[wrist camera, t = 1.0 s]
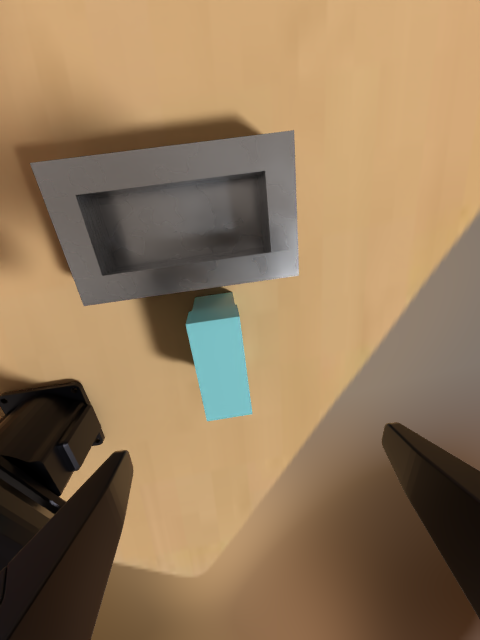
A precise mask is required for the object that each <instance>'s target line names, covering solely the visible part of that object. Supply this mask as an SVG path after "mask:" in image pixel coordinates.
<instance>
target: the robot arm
mask: <svg viewBox="0 0 480 640" xmlns="http://www.w3.org/2000/svg"><path fill="white" fill-rule="evenodd" d="M74 388H76V389H77V390H75V389H74ZM0 407H1V408H2V410H3V412H4V413H5V415H4V416H3V417H2V418H1V419H0V640H91V636H92V633H93V629H94V626H95V622H96V619H97V616H98V612H99V609H100V605H101V602H102V598H103V595H104V591H105V588H106V585H107V581H108V578H109V574H110V571H111V567H112V564H113V560H114V557H115V553H116V550H117V546H118V543H119V539H120V536H121V532H122V528H123V524H124V520H125V515H126V509H127V504H128V499H129V493H130V488H131V483H132V477H133V465H132V462H131V458H130V455H129V452H128V451H127V450H123V451H116V452H114V453H113V454H112V455H111V456H110V457H109V458H108V459H107V460H106V461H105V462H104V463H103V464H102V465H101V466H100V467H99V468H98V469H97V470H96V471H95V473H94V474H93V475H92V476H91V477H90V478H89V479H88V480H87V481H86V482H85V483H84V484H83V485H82V486H81V487H80V488H79V489H78V490H77V491H76V493H75V494H74V495H73V496H72V497H71V498H70V499H69V500H68V501H67V502H66V501H64V500H63V499H62V498H60V497H59V496H60V495H61V494H62V492H63V490H64V488H65V487H66V485H67V483H68V481H69V479H70V477H71V476H72V474H73V472H74V471H77V470H79V468H80V467H81V465H82V464H83V462H84V460H85V458H86V456H87V454H88V452H89V450H90V448H91V446H95V445H100V444H102V443H103V441H104V439H105V437H104V434H103V432H102V430H101V425H100V423H99V421H98V418H97V416H96V414H95V412H94V409H93V407H92V406H91V404H90V402H89V400H88V397H87V395H86V393H85V391H84V388H83V386H82V385H81V384H80V383H77V382H73V383H67V384H60V385H54V386H47V387H40V388H34V389H27V390H21V391H14V392H8V393H3V394H2V395H1V396H0ZM382 445H383V448H384V450H385V452H386V454H387V456H388V458H389V460H390V462H391V465H392V467H393V469H394V471H395V473H396V475H397V477H398V479H399V482H400V484H401V486H402V488H403V490H404V492H405V493H406V495H407V497H408V499H409V500H410V502H411V504H412V506H413V507H414V509H415V511H416V512H417V514H418V516H419V517H420V519H421V521H422V522H423V524H424V526H425V527H426V529H427V531H428V533H429V534H430V536H431V538H432V539H433V541H434V543H435V544H436V546H437V548H438V550H439V551H440V553H441V555H442V556H443V558H444V560H445V561H446V563H447V565H448V566H449V568H450V570H451V571H452V573H453V575H454V577H455V578H456V580H457V582H458V583H459V585H460V587H461V588H462V590H463V592H464V593H465V595H466V597H467V599H468V600H469V602H470V603H471V605H472V607H473V609H474V610H475V612H476V614H477V615H478V617H479V619H480V471H478V470H477V469H475V468H473V467H472V466H470V465H468V464H467V463H465V462H463V461H462V460H460V459H458V458H457V457H455V456H453V455H452V454H450V453H448V452H447V451H445V450H443V449H442V448H440V447H438V446H437V445H435V444H433V443H432V442H430V441H428V440H427V439H425V438H423V437H422V436H420V435H418V434H417V433H415V432H413V431H412V430H410V429H409V428H407V427H405V426H404V425H402V424H400V423H397V422H394V423H387V424H386V425H385V428H384V432H383V437H382Z"/></svg>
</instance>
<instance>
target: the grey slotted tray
mask: <svg viewBox="0 0 480 640" xmlns="http://www.w3.org/2000/svg"><path fill="white" fill-rule="evenodd" d="M30 165H31V167H32V170H33V173H34V175H35V178H36V181H37V183H38V186H39V189H40V191H41V194H42V197H43V199H44V202H45V204H46V207H47V210H48V212H49V215H50V218H51V220H52V223H53V226H54V228H55V231H56V234H57V236H58V239H59V241H60V244H61V247H62V249H63V252H64V255H65V257H66V260H67V263H68V265H69V268H70V271H71V273H72V276H73V278H74V281H75V284H76V286H77V289H78V292H79V294H80V297H81V300H82V302H83V305H84V306H88V305H95V304H102V303H109V302H116V301H123V300H130V299H137V298H144V297H151V296H158V295H165V294H172V293H179V292H186V291H193V290H200V289H207V288H214V287H221V286H228V285H235V284H242V283H249V282H256V281H263V280H270V279H277V278H284V277H291V276H298V275H299V261H298V232H297V203H296V173H295V144H294V130H293V131H285V132H277V133H269V134H261V135H252V136H244V137H236V138H228V139H220V140H212V141H204V142H196V143H188V144H180V145H171V146H163V147H155V148H147V149H139V150H131V151H123V152H115V153H107V154H98V155H90V156H82V157H74V158H66V159H58V160H50V161H42V162H34V163H30Z"/></svg>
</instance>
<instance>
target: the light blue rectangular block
mask: <svg viewBox="0 0 480 640" xmlns="http://www.w3.org/2000/svg"><path fill="white" fill-rule="evenodd" d="M186 329H187V333H188V338H189V342H190V347H191V351H192V355H193V360H194V364H195V369H196V373H197V378H198V382H199V387H200V391H201V396H202V400H203V405H204V409H205V414H206V418H207V421H212V420H218V419H224V418H231V417H237V416H243V415H249V414H252V407H251V400H250V392H249V385H248V377H247V370H246V362H245V355H244V347H243V340H242V332H241V325H240V317H239V312H238V308H237V305H235V303H234V298H233V293H232V292H229V293H222V294H215V295H208V296H201V297H195V300H194V304H193V309H192V311H189V313H188V317H187V321H186Z"/></svg>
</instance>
